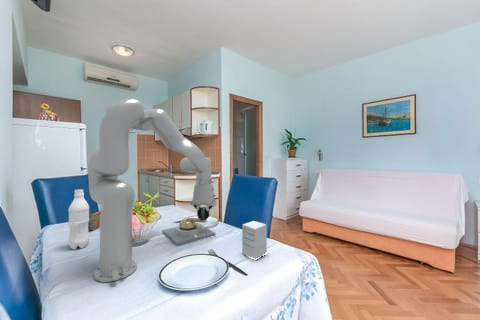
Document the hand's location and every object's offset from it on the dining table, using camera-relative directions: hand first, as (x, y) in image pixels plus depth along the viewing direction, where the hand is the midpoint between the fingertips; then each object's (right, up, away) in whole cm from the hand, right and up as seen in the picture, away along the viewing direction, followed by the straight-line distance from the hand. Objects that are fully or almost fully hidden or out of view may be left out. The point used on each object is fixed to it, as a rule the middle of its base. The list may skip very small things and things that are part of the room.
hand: (203, 217), depth 104 cm
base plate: (-8, -9, +1) cm, 12 cm away
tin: (-61, -9, +11) cm, 62 cm away
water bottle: (-52, -9, -14) cm, 54 cm away
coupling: (-6, -7, +1) cm, 9 cm away
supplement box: (+24, -10, -20) cm, 33 cm away
